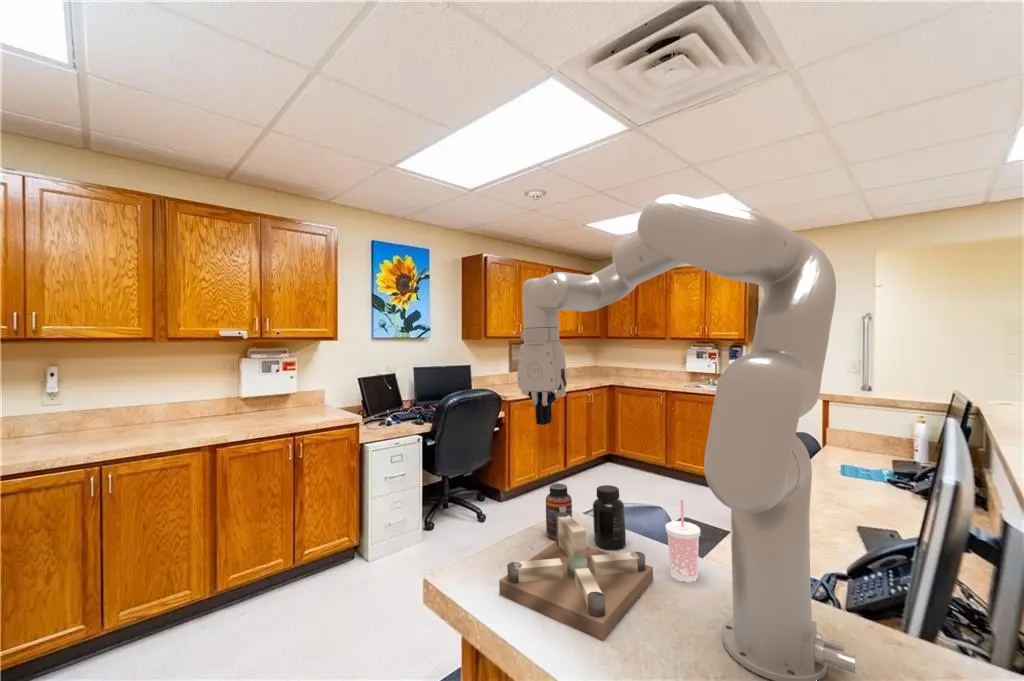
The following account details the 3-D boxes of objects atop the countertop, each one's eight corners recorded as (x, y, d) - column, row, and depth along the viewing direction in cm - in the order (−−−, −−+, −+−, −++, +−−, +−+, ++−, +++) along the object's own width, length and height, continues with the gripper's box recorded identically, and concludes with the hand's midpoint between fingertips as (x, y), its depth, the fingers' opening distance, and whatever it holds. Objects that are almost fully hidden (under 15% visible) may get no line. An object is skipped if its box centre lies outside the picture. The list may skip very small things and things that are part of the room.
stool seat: (653, 580, 80) (652, 553, 80) (603, 640, 64) (602, 607, 64) (560, 550, 92) (559, 527, 92) (499, 594, 77) (498, 566, 77)
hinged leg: (554, 542, 90) (554, 513, 90) (566, 540, 91) (565, 511, 91) (574, 564, 81) (573, 532, 81) (586, 562, 82) (585, 530, 82)
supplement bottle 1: (571, 542, 96) (569, 491, 96) (544, 540, 97) (543, 489, 97) (573, 530, 102) (572, 482, 102) (548, 529, 103) (547, 481, 103)
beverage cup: (692, 588, 77) (689, 509, 77) (660, 575, 81) (658, 500, 81) (707, 575, 81) (705, 500, 81) (676, 563, 85) (674, 492, 86)
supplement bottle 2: (623, 536, 98) (621, 483, 98) (628, 551, 91) (626, 493, 91) (592, 536, 99) (591, 483, 99) (595, 550, 92) (593, 493, 92)
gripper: (503, 338, 94) (505, 423, 94) (562, 336, 85) (564, 430, 84) (523, 337, 100) (526, 417, 100) (581, 335, 90) (583, 424, 90)
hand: (543, 423), depth 92 cm, fingers closed
